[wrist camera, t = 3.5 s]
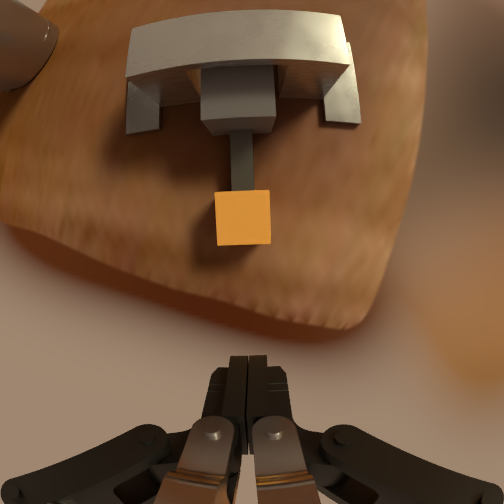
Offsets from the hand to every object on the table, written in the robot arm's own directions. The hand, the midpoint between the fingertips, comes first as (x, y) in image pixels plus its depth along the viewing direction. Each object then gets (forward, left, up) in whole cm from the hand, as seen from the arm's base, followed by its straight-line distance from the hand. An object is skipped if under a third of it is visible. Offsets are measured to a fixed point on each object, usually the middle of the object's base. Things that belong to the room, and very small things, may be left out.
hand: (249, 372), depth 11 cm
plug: (+2, +10, -12) cm, 15 cm away
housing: (+4, +16, -12) cm, 21 cm away
